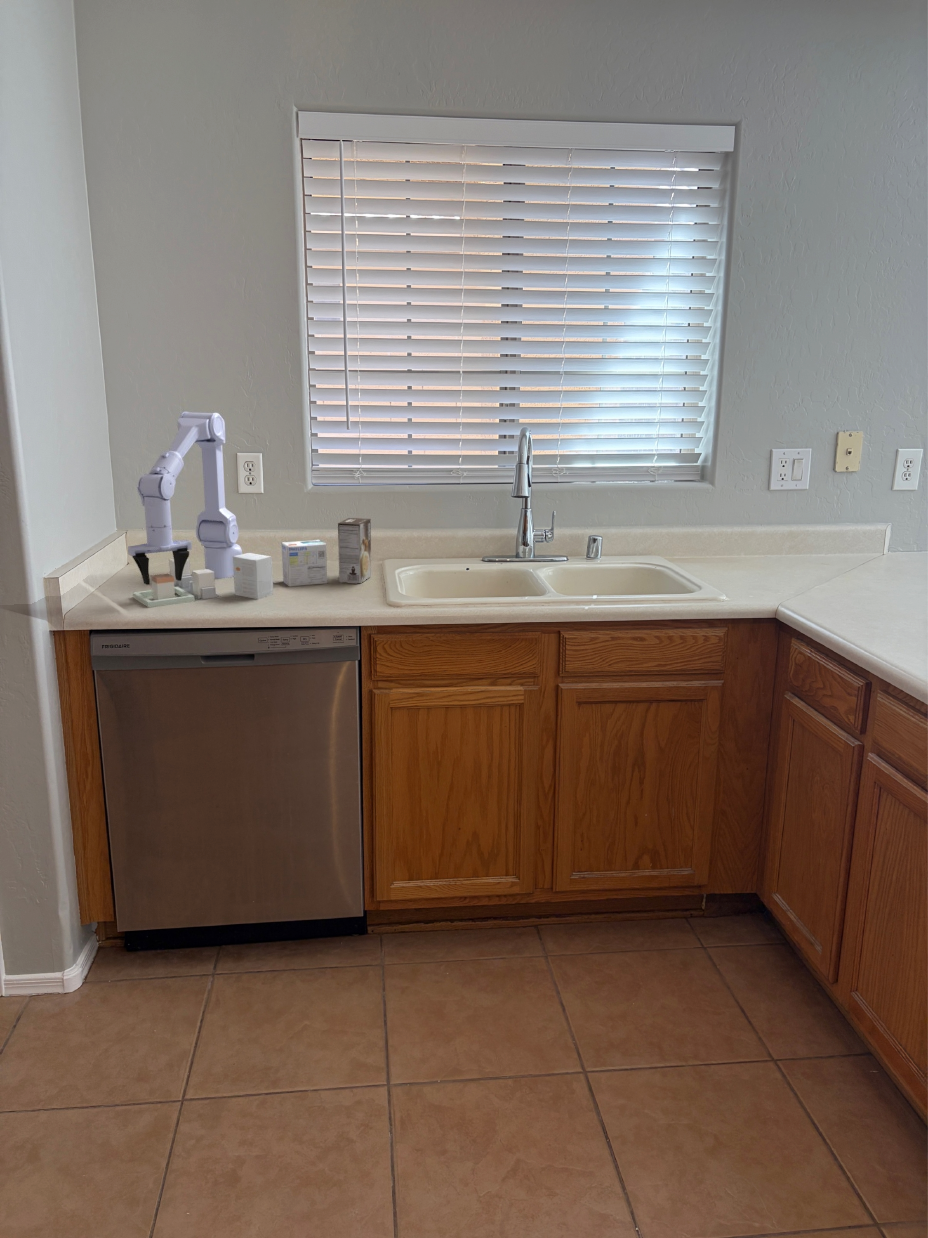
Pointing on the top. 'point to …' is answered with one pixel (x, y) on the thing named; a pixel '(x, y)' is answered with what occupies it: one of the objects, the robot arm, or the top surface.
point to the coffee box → (354, 550)
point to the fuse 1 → (185, 570)
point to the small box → (253, 575)
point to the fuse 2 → (202, 580)
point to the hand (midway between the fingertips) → (162, 581)
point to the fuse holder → (187, 586)
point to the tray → (183, 599)
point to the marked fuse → (163, 586)
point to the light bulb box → (304, 562)
